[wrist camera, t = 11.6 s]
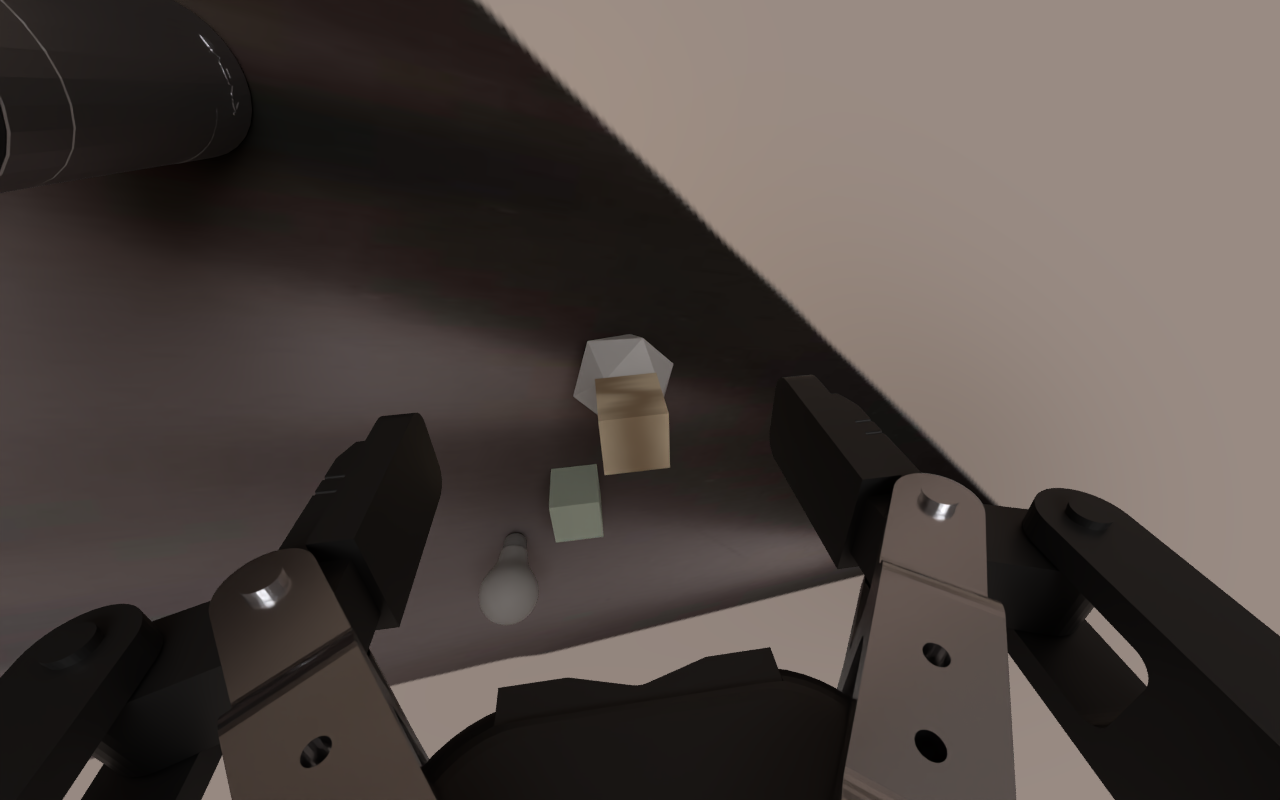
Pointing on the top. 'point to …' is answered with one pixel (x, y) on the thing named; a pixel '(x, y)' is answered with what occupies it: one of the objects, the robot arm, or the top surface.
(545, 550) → the top surface
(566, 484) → the sage block
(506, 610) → the lightbulb
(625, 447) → the maple block
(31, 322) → the top surface
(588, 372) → the die
